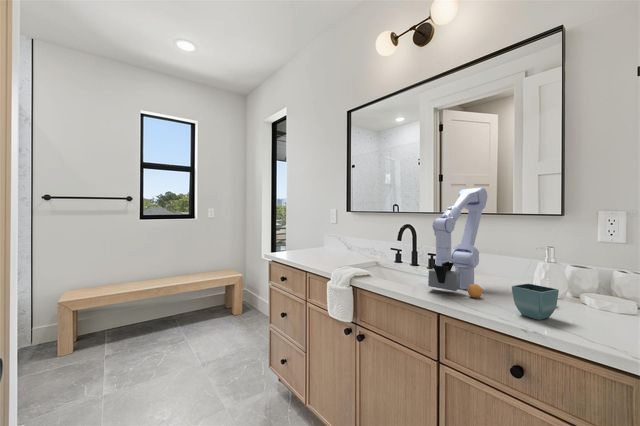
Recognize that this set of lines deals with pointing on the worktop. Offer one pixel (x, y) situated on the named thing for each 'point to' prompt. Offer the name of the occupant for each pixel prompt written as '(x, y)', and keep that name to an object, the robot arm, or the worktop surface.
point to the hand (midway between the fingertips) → (443, 281)
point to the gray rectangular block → (450, 280)
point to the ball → (475, 290)
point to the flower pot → (535, 300)
